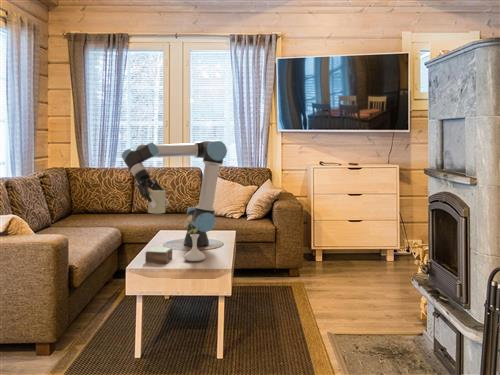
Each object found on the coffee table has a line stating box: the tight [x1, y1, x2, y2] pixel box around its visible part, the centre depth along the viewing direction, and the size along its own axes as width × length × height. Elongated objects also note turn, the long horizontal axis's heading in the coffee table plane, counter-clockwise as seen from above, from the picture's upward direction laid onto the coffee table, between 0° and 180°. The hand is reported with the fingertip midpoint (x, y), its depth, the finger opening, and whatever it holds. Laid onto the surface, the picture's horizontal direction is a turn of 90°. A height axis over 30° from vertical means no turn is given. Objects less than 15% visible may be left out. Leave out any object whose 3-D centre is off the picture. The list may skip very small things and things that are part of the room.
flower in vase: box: [182, 215, 206, 262], centre depth 265 cm, size 13×11×25 cm
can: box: [147, 189, 167, 215], centre depth 267 cm, size 9×9×12 cm
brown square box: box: [145, 246, 173, 265], centre depth 264 cm, size 11×11×6 cm
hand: (161, 205), depth 265 cm, fingers closed on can, 9 cm apart
